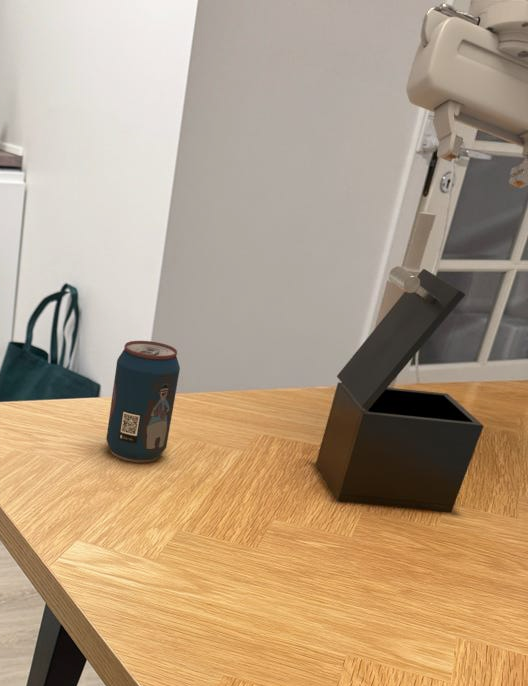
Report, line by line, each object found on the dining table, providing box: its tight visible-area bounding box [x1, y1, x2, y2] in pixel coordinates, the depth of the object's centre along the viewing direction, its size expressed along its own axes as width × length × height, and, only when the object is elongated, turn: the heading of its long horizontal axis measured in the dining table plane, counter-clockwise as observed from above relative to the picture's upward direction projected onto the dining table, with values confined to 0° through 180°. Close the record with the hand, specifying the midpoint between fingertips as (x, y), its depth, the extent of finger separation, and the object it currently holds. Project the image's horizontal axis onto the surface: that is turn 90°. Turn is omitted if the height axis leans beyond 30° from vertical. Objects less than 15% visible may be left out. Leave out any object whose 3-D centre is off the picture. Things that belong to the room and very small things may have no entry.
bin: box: [315, 381, 484, 513], centre depth 98 cm, size 13×11×10 cm
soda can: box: [106, 340, 181, 463], centre depth 99 cm, size 7×7×12 cm
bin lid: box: [336, 265, 466, 411], centre depth 91 cm, size 13×11×5 cm
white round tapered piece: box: [373, 211, 437, 388], centre depth 121 cm, size 5×5×25 cm
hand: (484, 171), depth 92 cm, fingers open, 8 cm apart
